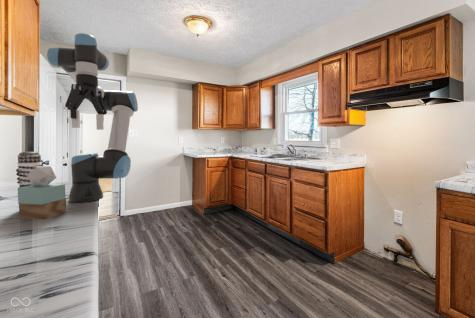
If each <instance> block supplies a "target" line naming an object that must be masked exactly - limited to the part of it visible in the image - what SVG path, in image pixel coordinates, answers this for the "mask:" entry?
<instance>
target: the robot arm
mask: <svg viewBox="0 0 475 318" xmlns="http://www.w3.org/2000/svg"><path fill="white" fill-rule="evenodd" d="M73 45H74V48H72V47H71V48H68V47H67V48H66V47H59V46H58V47H49V48H48V49H47V51H46V52H47V53H46V55H47V56H46V58H47V60H48V62H49V64H50V65H51V66H52V67H53V66H54V67H57V68H58V67H59V68H60V67H61V68H62V69H63V70H64V72H65V73H66V74H67V75H68V76H69V77H70V78H71V79H72V80H73V81H74V83H71V85H70V86H71V87H70V92H69V94H68V97H67V99H66V102H65V104H64V106H65V108H67V110H68V111H69V112H70V119H71V128H73V129H75V128H77V129H78V128H81V125H80V124H81V121H80V117H81V116H80V110H79V109H78V108H79V107H80V106H81V104H82V103H83V102H84V100H85V99H86V100H88V101H89V103H91V104H92V105H93V106H92V107H93V109H94V110H95V112H96V114H95V116H96V130H98V131H99V130H104V128H105V127H104V115H107V114H108V112H111V113H112V114H113V118H112V123H111V128H110V134H109V140H108V146H107V149H105V150H104V151H103V154H102V155H99V154H98V152H96V153H95V152H94V153H87V154H78V155H74V156H72V157H71V163H70V164H71V165H70V166H71V183H72V184H71V188H70V191H69V195H68V202H70V203H86V202H87V203H88V202H89V203H90V202H94V201H98V200H101V199H103V198H104V192H103V191H102V187H101V185H100V181H99V180H101V179H103V180H104V179H114V180H115V179H117V180H118V179H125V178H126V177H127V176H128V175H129V173H130V171H131V163H132V162H131V157H130V156H129V153H128V152H126V148H127V142H128V134H129V127H130V119H131V117H133V116H134V112H138V108H139V107H138V106H139V105H138V100H137V96H136V94H135V92H134V91H130V90H129V91H128V90H126V91H123V90H106V89H103V88H102V87H101V86H99V79H98V75H99V73H98V71H100V72H101V71H105V70H107V69H108V67H109V65H110V61H109V59H108V56H106V54H104V52H102V51H100V49H99V48H98V44H97V39H96V37H94V36H93V35H91V34H88V33H79V32H78V33H77V34H75V35H74V43H73Z"/></svg>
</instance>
